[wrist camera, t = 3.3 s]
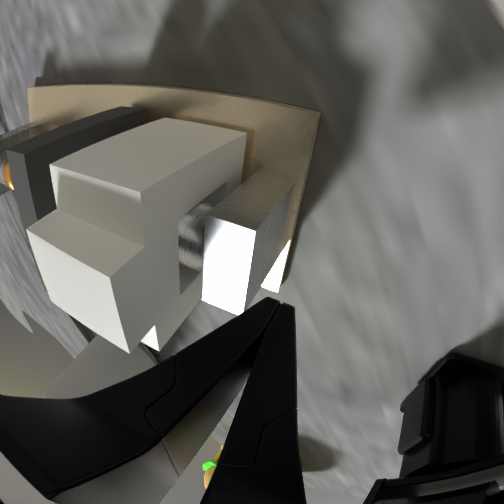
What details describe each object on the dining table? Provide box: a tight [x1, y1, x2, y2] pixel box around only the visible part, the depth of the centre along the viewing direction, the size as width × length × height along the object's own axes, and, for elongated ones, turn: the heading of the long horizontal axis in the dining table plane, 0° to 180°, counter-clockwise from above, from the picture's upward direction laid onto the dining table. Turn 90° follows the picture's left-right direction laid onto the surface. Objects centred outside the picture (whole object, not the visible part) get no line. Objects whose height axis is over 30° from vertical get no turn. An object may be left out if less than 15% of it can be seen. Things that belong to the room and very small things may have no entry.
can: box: [42, 334, 157, 399], centre depth 24 cm, size 8×8×12 cm
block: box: [6, 106, 145, 291], centre depth 13 cm, size 2×7×6 cm, turn 172°
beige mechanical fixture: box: [0, 83, 321, 315], centre depth 14 cm, size 20×9×5 cm, turn 83°
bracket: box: [26, 118, 247, 354], centre depth 11 cm, size 4×6×8 cm, turn 173°
